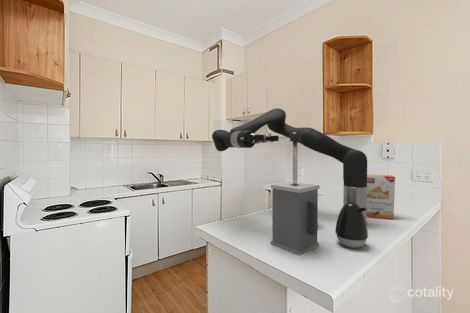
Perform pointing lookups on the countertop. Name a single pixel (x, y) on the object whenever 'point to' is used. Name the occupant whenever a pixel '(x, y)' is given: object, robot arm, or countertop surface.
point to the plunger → (295, 153)
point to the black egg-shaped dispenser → (351, 226)
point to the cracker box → (380, 196)
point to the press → (295, 217)
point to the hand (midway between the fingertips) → (270, 137)
